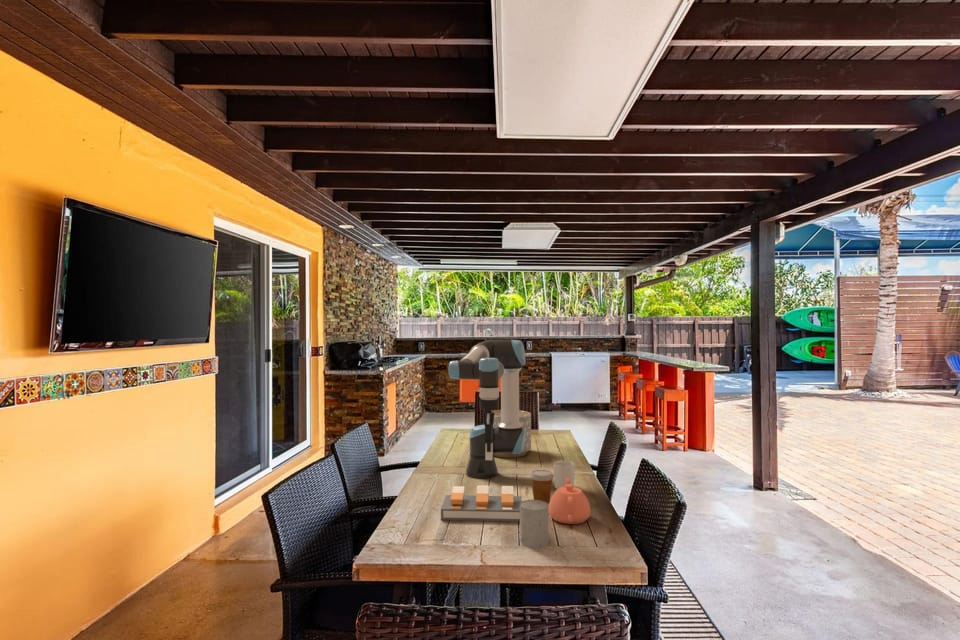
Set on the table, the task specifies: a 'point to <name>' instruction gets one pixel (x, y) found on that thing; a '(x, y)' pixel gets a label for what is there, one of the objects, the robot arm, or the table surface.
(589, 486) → the table surface
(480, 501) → the rocker
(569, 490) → the teapot
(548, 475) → the disposable coffee cup
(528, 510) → the grey cylinder
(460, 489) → the block
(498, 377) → the robot arm
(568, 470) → the mug
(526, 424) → the planter
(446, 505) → the console
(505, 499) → the rocker
